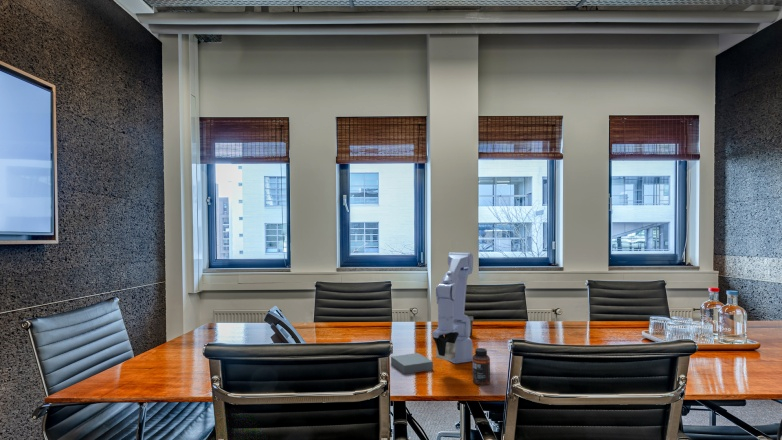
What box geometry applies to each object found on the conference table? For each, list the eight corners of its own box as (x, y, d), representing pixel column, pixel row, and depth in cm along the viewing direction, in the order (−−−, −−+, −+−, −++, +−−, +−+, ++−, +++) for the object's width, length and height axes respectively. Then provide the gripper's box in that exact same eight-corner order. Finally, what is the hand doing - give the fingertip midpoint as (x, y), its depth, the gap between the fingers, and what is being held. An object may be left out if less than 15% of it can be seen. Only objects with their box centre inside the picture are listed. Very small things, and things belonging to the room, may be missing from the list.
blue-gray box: (418, 360, 164) (418, 352, 164) (432, 369, 153) (432, 361, 153) (391, 364, 159) (391, 356, 160) (404, 374, 148) (404, 365, 149)
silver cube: (443, 354, 152) (443, 341, 153) (455, 357, 149) (455, 343, 149) (436, 357, 149) (436, 344, 149) (448, 360, 145) (448, 346, 146)
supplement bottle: (487, 379, 144) (487, 347, 144) (492, 385, 138) (492, 352, 138) (470, 379, 143) (470, 347, 144) (474, 385, 138) (474, 352, 138)
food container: (451, 331, 212) (451, 312, 213) (462, 330, 214) (462, 311, 215) (462, 337, 201) (462, 317, 201) (473, 336, 203) (473, 316, 203)
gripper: (444, 321, 141) (444, 360, 141) (465, 314, 152) (465, 351, 152) (427, 318, 146) (427, 356, 145) (449, 312, 157) (449, 347, 156)
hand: (445, 353), depth 149 cm, fingers closed on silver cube, 5 cm apart
